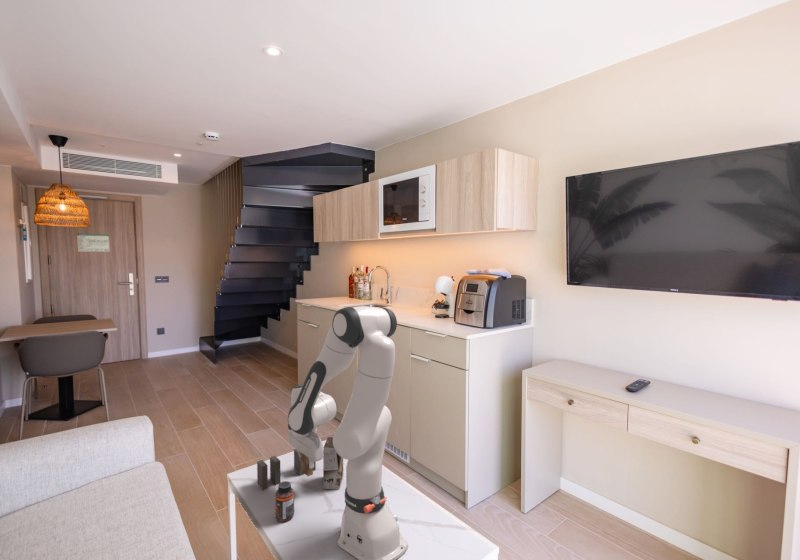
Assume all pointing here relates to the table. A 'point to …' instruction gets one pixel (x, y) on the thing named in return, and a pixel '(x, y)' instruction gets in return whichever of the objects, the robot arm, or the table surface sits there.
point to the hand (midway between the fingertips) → (306, 464)
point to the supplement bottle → (284, 502)
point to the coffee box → (331, 466)
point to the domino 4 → (305, 465)
